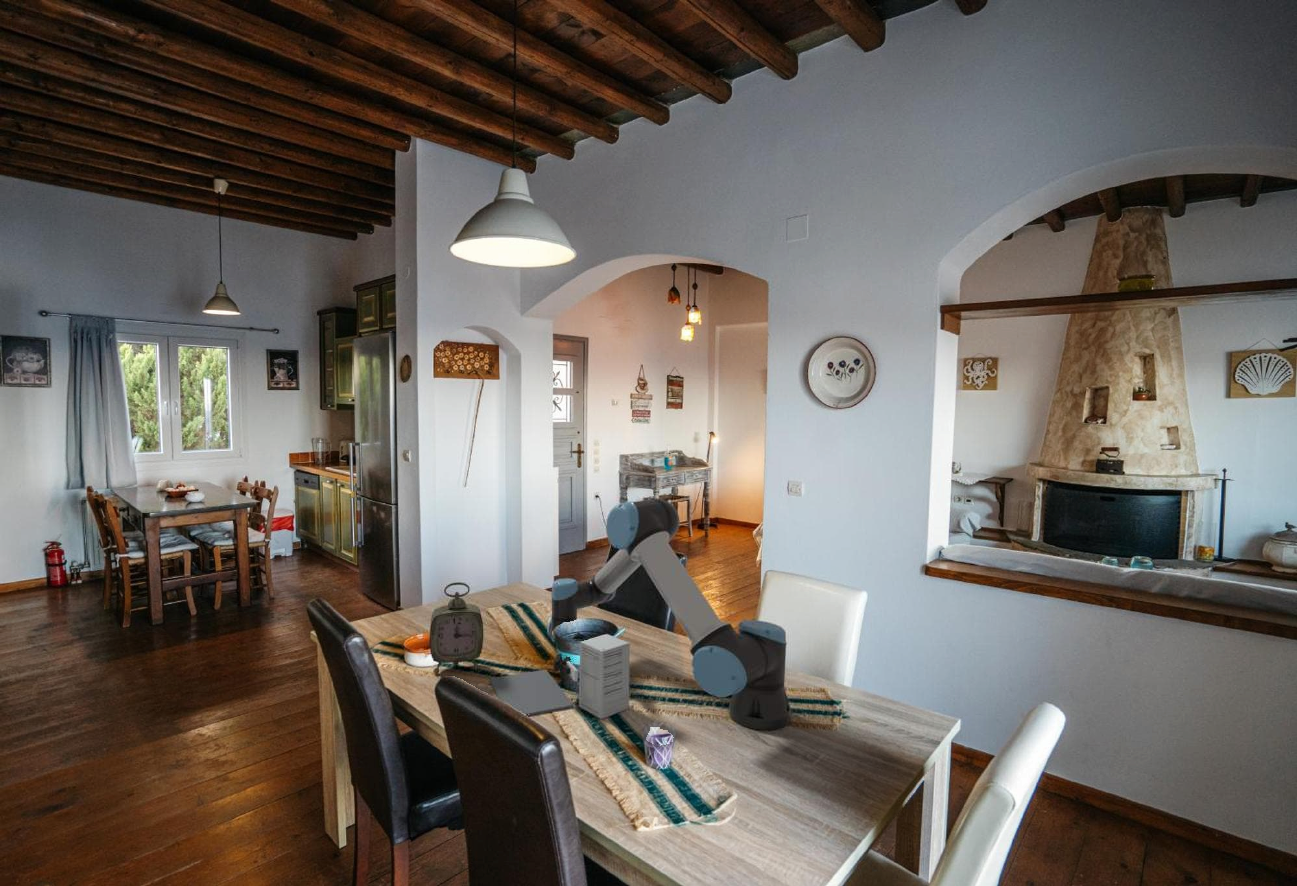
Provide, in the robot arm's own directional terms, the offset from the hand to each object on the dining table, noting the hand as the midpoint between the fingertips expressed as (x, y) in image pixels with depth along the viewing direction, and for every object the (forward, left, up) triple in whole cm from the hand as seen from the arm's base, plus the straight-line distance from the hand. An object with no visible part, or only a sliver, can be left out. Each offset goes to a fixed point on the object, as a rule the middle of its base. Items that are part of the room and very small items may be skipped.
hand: (601, 671), depth 160 cm
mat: (+14, +15, -9) cm, 22 cm away
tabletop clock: (+38, +30, -9) cm, 49 cm away
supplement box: (-1, 0, -9) cm, 9 cm away
